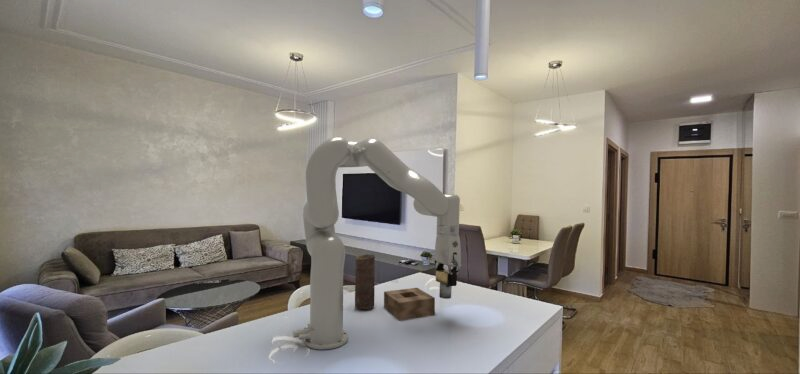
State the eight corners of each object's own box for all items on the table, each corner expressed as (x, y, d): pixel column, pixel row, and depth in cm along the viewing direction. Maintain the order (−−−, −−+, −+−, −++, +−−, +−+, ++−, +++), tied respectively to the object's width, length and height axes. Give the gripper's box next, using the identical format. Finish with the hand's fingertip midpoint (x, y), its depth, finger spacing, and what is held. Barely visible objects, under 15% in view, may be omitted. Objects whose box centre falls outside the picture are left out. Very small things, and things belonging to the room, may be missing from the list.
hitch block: (398, 320, 119) (399, 302, 119) (383, 307, 131) (384, 291, 131) (434, 314, 124) (434, 297, 124) (417, 302, 137) (417, 287, 137)
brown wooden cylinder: (373, 312, 126) (373, 257, 127) (353, 311, 127) (353, 256, 127) (375, 305, 134) (375, 253, 134) (356, 304, 134) (356, 253, 134)
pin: (441, 300, 113) (442, 274, 114) (431, 294, 120) (432, 270, 120) (459, 299, 116) (460, 273, 116) (448, 293, 123) (449, 269, 123)
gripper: (471, 233, 112) (470, 288, 112) (443, 227, 128) (442, 276, 128) (452, 233, 109) (450, 290, 109) (425, 227, 125) (424, 277, 125)
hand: (445, 282), depth 118 cm, fingers closed on pin, 7 cm apart
